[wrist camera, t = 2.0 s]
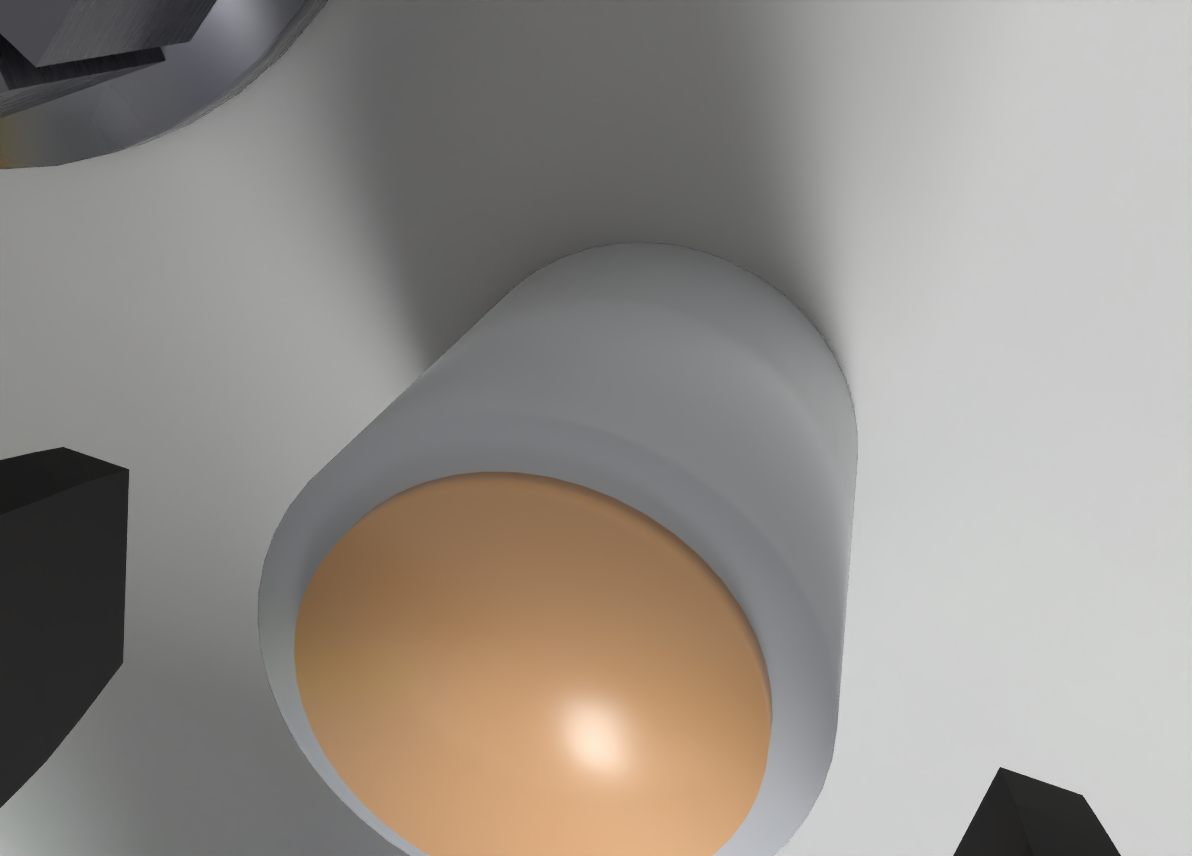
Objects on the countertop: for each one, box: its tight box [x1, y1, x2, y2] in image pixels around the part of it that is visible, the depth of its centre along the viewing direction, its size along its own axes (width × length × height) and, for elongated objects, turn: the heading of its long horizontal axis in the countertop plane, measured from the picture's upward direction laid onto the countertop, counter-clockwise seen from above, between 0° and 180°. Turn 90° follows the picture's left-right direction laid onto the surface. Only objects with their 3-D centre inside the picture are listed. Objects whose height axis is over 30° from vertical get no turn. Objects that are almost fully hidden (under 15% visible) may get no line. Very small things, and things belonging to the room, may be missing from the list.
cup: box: [258, 242, 858, 856], centre depth 11 cm, size 5×5×5 cm
